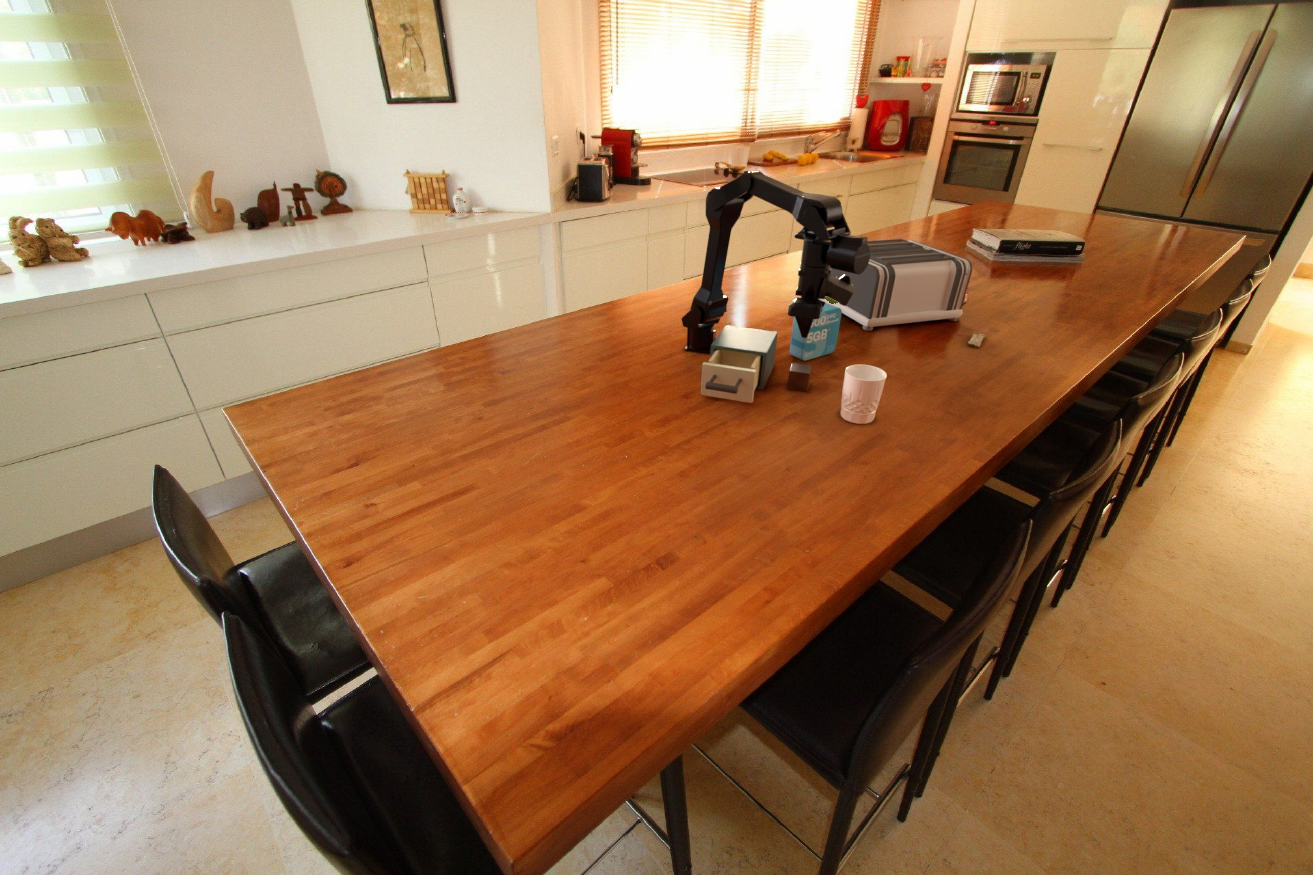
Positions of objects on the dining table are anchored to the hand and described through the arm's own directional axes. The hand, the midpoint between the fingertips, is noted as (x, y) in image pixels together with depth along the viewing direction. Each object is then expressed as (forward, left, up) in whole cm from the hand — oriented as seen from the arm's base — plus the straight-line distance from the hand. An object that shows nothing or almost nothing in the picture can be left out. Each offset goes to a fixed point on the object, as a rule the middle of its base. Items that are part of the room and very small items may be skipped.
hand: (804, 336), depth 128 cm
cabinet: (-13, +2, -12) cm, 18 cm away
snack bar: (+41, +44, -12) cm, 61 cm away
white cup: (+14, -10, -12) cm, 21 cm away
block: (0, 0, -12) cm, 12 cm away
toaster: (+18, +64, -12) cm, 68 cm away
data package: (+1, +20, -12) cm, 24 cm away
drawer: (-13, -10, -11) cm, 20 cm away
